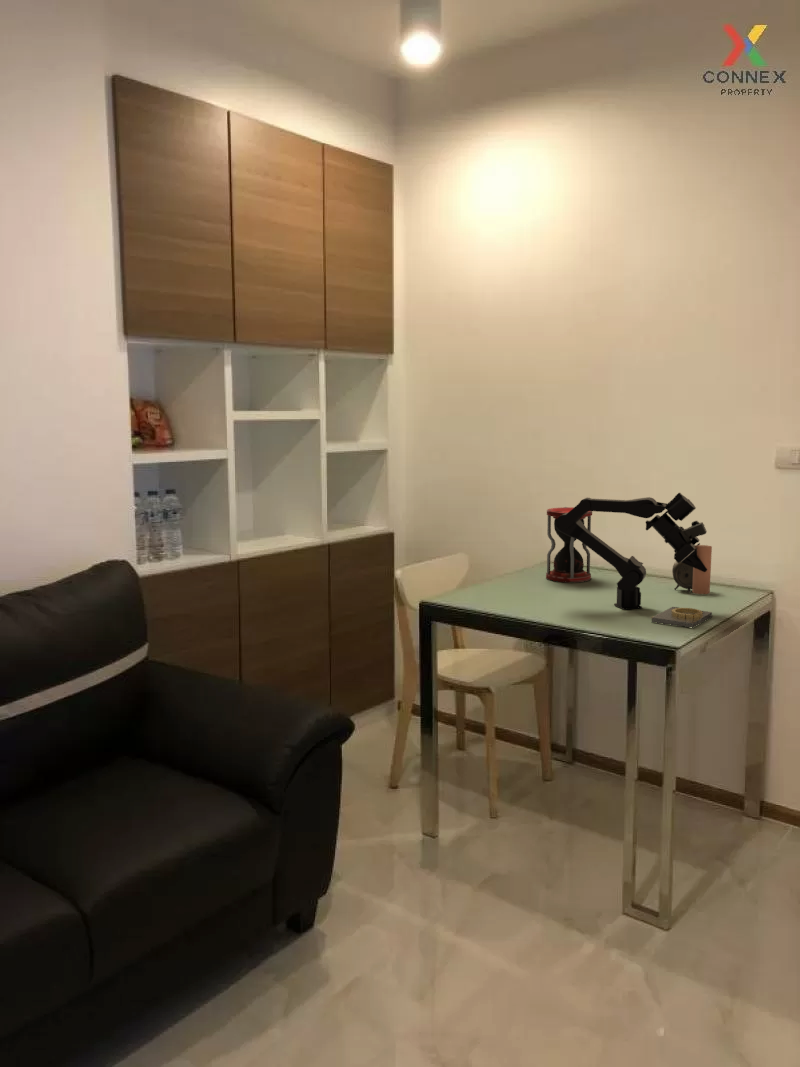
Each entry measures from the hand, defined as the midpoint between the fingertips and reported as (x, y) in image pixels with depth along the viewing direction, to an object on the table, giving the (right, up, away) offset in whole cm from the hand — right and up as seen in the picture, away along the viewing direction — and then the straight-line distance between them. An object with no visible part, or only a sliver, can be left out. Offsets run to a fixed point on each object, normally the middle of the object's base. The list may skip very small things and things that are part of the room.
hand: (706, 569), depth 264 cm
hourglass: (-31, -6, +55) cm, 64 cm away
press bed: (-9, -15, -5) cm, 18 cm away
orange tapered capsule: (-1, -7, +2) cm, 7 cm away
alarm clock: (+5, -9, +32) cm, 33 cm away
